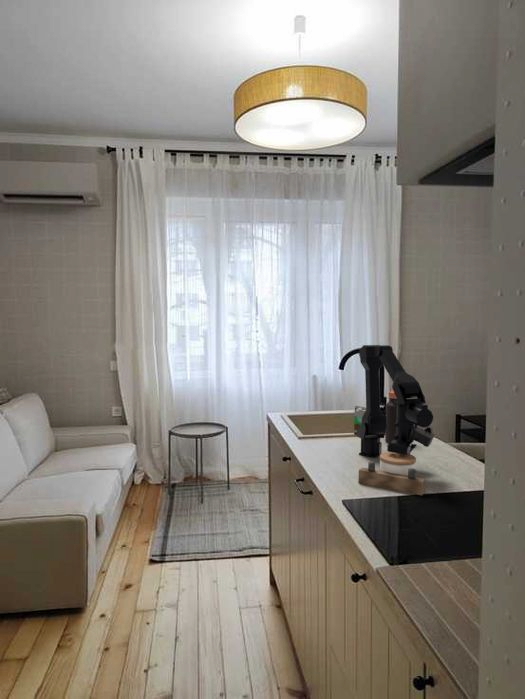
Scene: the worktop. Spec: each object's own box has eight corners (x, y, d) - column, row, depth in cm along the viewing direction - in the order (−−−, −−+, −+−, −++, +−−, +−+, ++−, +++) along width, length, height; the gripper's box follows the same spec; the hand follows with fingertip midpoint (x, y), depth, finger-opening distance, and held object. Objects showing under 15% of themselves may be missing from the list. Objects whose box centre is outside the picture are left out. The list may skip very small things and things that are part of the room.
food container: (368, 435, 208) (369, 411, 208) (353, 434, 210) (354, 411, 209) (368, 428, 221) (369, 406, 220) (354, 428, 222) (354, 405, 221)
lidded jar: (373, 482, 152) (374, 452, 152) (387, 473, 161) (387, 444, 160) (407, 490, 146) (408, 458, 145) (420, 480, 155) (421, 450, 154)
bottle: (381, 441, 200) (382, 391, 198) (395, 439, 203) (396, 390, 201) (392, 445, 194) (394, 394, 192) (406, 443, 197) (407, 392, 195)
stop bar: (358, 482, 152) (358, 461, 152) (362, 479, 155) (362, 459, 154) (421, 495, 142) (422, 473, 142) (424, 492, 145) (425, 470, 144)
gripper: (424, 430, 147) (423, 481, 149) (439, 416, 163) (437, 462, 164) (387, 425, 153) (386, 474, 154) (404, 412, 168) (403, 457, 170)
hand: (404, 467), depth 161 cm, fingers closed
